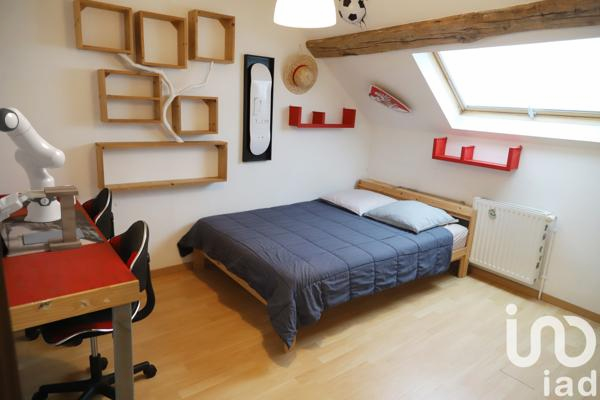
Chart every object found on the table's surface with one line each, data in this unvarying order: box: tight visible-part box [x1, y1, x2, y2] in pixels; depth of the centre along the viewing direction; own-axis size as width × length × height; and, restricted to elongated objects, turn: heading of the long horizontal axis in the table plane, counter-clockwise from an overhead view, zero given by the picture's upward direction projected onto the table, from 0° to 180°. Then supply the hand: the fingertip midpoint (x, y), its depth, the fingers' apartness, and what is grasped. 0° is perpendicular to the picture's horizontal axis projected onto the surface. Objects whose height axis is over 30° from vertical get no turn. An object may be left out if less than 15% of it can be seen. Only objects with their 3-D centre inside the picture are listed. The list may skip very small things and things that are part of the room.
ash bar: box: [20, 189, 46, 198], centre depth 190 cm, size 3×20×3 cm, turn 125°
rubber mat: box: [22, 227, 85, 246], centre depth 196 cm, size 16×24×1 cm, turn 125°
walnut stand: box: [44, 185, 83, 252], centre depth 183 cm, size 12×12×26 cm
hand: (30, 193), depth 186 cm, fingers closed on ash bar, 3 cm apart
